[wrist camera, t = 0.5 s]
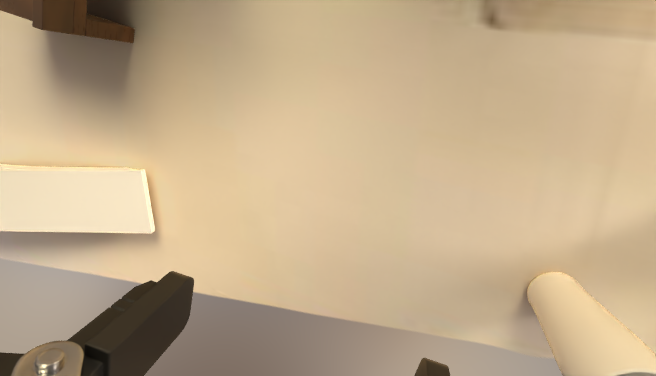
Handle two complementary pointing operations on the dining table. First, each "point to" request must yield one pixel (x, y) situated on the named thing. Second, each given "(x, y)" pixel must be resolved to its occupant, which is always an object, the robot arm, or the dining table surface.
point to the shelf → (67, 18)
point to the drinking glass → (586, 331)
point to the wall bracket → (74, 199)
